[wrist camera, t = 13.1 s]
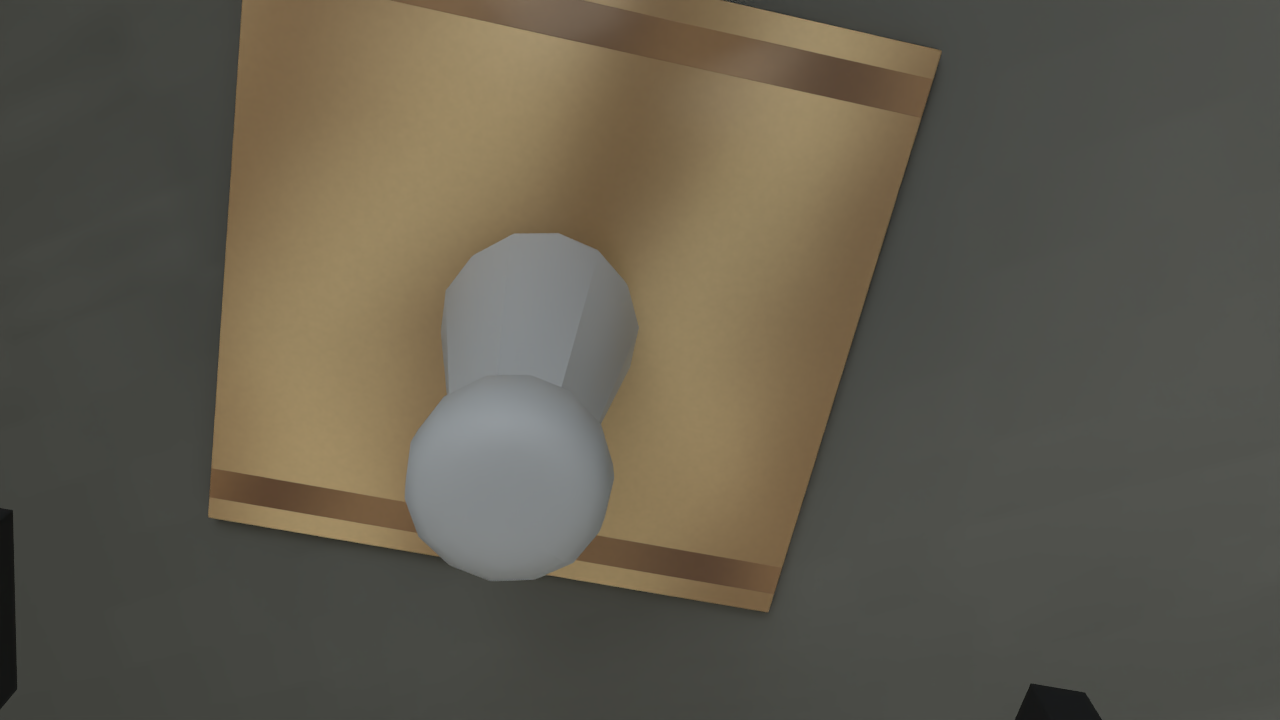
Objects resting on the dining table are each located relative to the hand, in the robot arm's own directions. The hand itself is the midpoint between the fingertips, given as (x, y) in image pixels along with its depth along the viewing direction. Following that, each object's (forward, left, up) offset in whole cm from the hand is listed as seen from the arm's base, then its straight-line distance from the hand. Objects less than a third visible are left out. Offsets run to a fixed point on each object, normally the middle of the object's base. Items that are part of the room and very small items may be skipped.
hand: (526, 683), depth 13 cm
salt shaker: (+1, +2, -20) cm, 20 cm away
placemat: (+1, +2, -20) cm, 20 cm away
